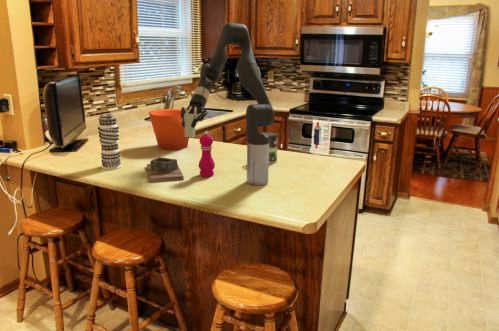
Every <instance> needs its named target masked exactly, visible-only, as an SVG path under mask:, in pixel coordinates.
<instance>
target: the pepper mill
mask: <svg viewBox="0 0 499 331" xmlns="http://www.w3.org/2000/svg"><path fill="white" fill-rule="evenodd" d="M198 140H199V144H200V150H201V157H200V159H199V162H198V169H199V170H200V171H199V176H200V177H202V178H211V176H212V177H214V175H215V170H214V169H215V167H216V163H215V161H214V159H213V158H214V157H213V156H212V149H213V143H214V138H213V136H212V135H210V134H209V131H207V130H205V131H204V132H203V135H201V136H200V137H199V139H198Z"/></svg>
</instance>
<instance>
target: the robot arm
mask: <svg viewBox="0 0 499 331" xmlns="http://www.w3.org/2000/svg"><path fill="white" fill-rule="evenodd" d="M228 45H229V46H231V45H232V46H233V45H234V46H239V47H240V50H241V55H240V56H239V59H238V61H237V64H236V67H235V68H236V75H237V77H238V80H239V82H240V84H241V86H242V87H243V88H244V89H245V90H246V91H247V92H248V93H249V94H250V95H251V96H253V98H254V99H255V100H256V102H257V103H254V104H249V105H247V106H246V110H245V124H246V125H245V126H246V127H245V128H246V139H247V140H246V141H247V142H246V148H247V149H246V150H247V151H246V182H247V184H249V185H253V186H263V185H268V184H269V167H270V164H269V136H268V135H265V134H262V133H260V131H259V127H270V126H272V125H273V124H275V122H274V121H275V110H274V108H273V105H272V102H271V101H270V99H269V96H268V93H267V92H266V88H265V86H264V83H263V80H262V76H261V73H260V70H259V66H258V64H257V63H258V62H257V61H256V60H257V59H256V57H255V55H254V51H253V47H252V42H251V38H250V33H249V30H248V27H247V25H245V24H243V23H236V22H226V23H225V24H224V26H223V27H222V29H221V32H220V34H219V37H218V41H217V45H216V47H215V50H214V52H213V54H212V55H211V58H210V60H209V61H208V63H203V65H201V68H200V71H199V72H200V73H199V80H198V84H197V85H196V88H195V90H194V91H193V94H192V96H191V98H190V100H189V104H188V106H187V107H184V106H183V107H182V106H181V108H180V109H181V118H182V119H183V121H182V123H181V124H182V126H183V127H185V121H184V114H186V113H187V114H195V117H194V120H193V122H192V124H191V127H192V128H194V127H195V128H196V125H197V124H198V122H203V120H204V119H205V118H206V116H207V115H208V113H209V112H208V110H207V108H205V107H206V105H207V102H208V101H209V98H210V93H211V91H212V89H213V87H214V86H213V85H214V84H213V83H212V82H214V83H217V82H218V81H219V80H220V79H221V76H222V70H223V67H224V66H225V65H226V62H227V60H228V58H229V57H228V51H227V49H226V47H227V46H228ZM187 110H188V111H187Z"/></svg>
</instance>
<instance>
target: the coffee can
mask: <svg viewBox="0 0 499 331" xmlns="http://www.w3.org/2000/svg"><path fill="white" fill-rule="evenodd" d="M259 132H260V131H259ZM260 133H262V134H265V135H268V136H269V165H271V164H275V163H277V162H278V137H279V133H278V132H274V131H262V132H260Z"/></svg>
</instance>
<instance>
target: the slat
mask: <svg viewBox="0 0 499 331" xmlns="http://www.w3.org/2000/svg"><path fill="white" fill-rule="evenodd" d="M194 117H195V114H187V113H186V114H184V121H185V137H189V138H192V139H193V138H196V126H195V127H194V128H192V127H191V124H192V122H193V120H194Z"/></svg>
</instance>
